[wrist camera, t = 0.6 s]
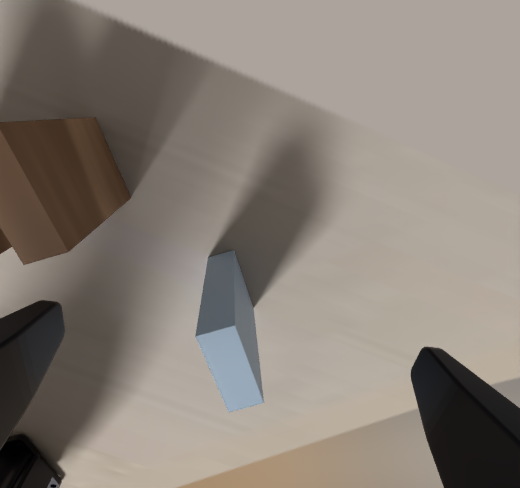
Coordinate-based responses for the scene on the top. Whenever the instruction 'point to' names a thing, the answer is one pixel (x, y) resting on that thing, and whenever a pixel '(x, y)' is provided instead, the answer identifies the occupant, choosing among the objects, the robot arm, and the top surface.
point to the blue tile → (229, 333)
